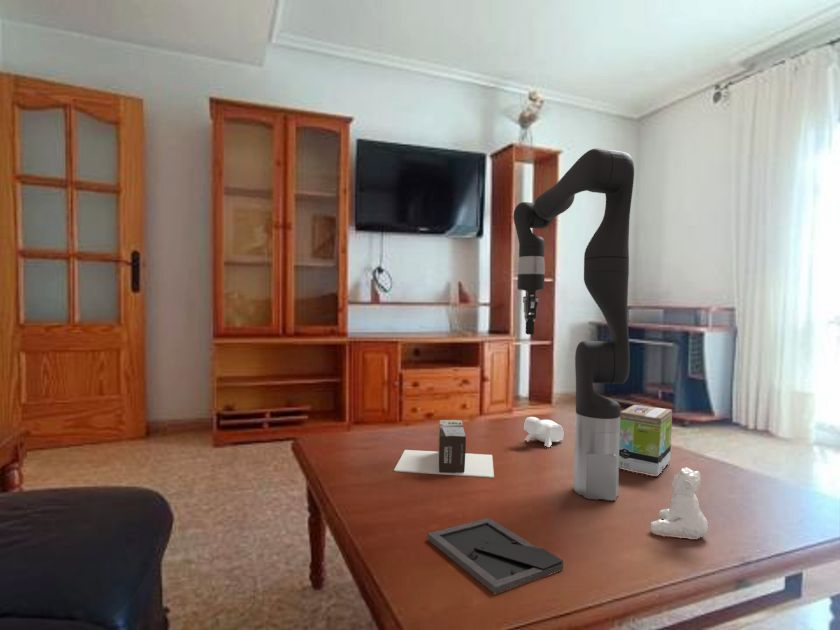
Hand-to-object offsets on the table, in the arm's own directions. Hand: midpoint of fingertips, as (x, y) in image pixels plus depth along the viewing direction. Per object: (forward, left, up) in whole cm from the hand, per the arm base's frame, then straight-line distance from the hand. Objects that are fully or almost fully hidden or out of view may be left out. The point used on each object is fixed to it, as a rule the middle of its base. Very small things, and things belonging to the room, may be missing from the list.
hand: (529, 334), depth 136 cm
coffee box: (-8, +22, -28) cm, 36 cm away
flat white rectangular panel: (-16, +22, -33) cm, 43 cm away
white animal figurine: (+7, -5, -33) cm, 34 cm away
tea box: (-9, -29, -33) cm, 45 cm away
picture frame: (-61, +11, -34) cm, 70 cm away
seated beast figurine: (-47, -23, -33) cm, 62 cm away
